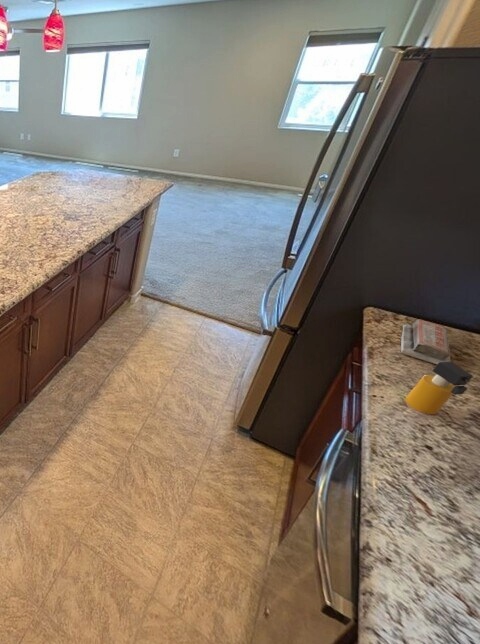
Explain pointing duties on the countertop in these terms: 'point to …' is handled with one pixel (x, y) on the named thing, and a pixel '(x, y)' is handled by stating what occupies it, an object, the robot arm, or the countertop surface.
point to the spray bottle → (437, 387)
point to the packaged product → (425, 341)
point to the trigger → (459, 390)
